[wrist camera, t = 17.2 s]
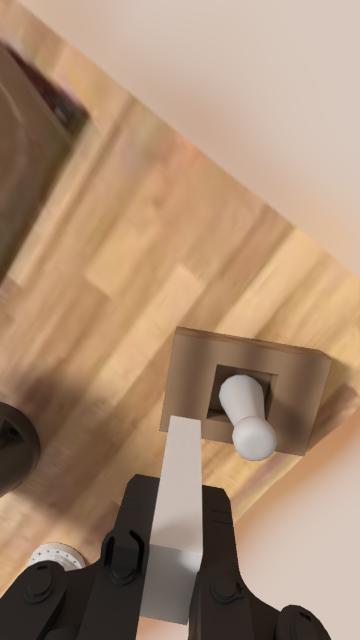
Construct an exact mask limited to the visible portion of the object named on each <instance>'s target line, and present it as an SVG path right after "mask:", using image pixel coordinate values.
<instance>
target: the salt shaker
mask: <svg viewBox="0 0 360 640" xmlns="http://www.w3.org/2000/svg"><path fill="white" fill-rule="evenodd" d="M219 398H220V402H221V405H222V407H223V408H224V410H225V412H226V414H227V415H228V417H229V419H230V421H231V422H232V424H233V426H234V431H233V434H232V438H233V443H234V446H235V449H236V451H237V452H238V453H239V454H240V455H241V457H242V458H245V459H247V460H250V461H261V460H264V459H266V458H268V457H269V456H270V455H271V454H272V453H273V452H274V451H275V447H276V444H277V442H276V437H275V432H274V430H273V428H272V426H271V425H270V424H269V423H268V422H267V421H266V420H265V415H264V395H263V391H262V387H261V385H260V384H259V383H258V382H257V381H256V380H255V379H254V378H252V377H250V376H248V375H245V374H239V375H234V376H230V377H228V378H227V380H226V381H225V382H224V383H223V384H222V385H221V389H220V393H219Z"/></svg>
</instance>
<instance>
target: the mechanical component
mask: <svg viewBox="0 0 360 640" xmlns="http://www.w3.org/2000/svg"><path fill="white" fill-rule="evenodd" d="M44 560H52V561H56V562H58V563H59V564H61V565H62V566H63V567H64V569H65V571H69V570H75V569H81V568H84V567H86V566H85V562H84V560H83V558H82V556H81V555H80V554H79V553H78V552H77V551H76V550H74V549H73V548H71V547H69V546H67V545H64V544H60V543H47V544H44V545H41V546H40V547H38V548H37V549H36V550H35V551H34V553H33V554H32V556H31V558H30V560H29V563H28V567H29V566H31V565H33V564H35V563H36V562H38V561H44Z"/></svg>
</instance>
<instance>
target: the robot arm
mask: <svg viewBox="0 0 360 640" xmlns="http://www.w3.org/2000/svg"><path fill="white" fill-rule="evenodd" d="M39 455H40V444H39V439H38V436H37V434H36V431H35V429H34V428H33V426H32V425H31V423H30V422H29V421H28V420H27V418H26V417H25V416H24V415H22V414H21V413H20V412H19V411H17V410H16V409H14V408H13V407H11V406H9V405H6V404H4V403H1V402H0V498H1V497H2V496H4V495H5V494H7V493H8V492H9V491H11V490H13V489H15V488H16V487H18V486H19V485H20V484H22V483H23V482H24V481H25V480H26V478H27V477H28V476H29V475H30V473H31V472H32V471H33V469H34V468H35V466H36V464H37V462H38V459H39ZM139 616H143V617H147V618H153V619H158V620H163V621H168V622H173V623H179V624H183V625H187V623H188V618H189V636H188V640H331V638H330V636H329V634H328V632H327V631H326V629H325V628H324V626H323V625H322V623H321V622H320V621H319V620H318V619H317V618H316V617H315V616H314V615H313V614H312V613H311V612H310V611H308V610H306V609H305V608H303V607H301V606H297V605H289V606H286V607H284V608H283V609H282V611H281V612H280V611H278V610H276V609H275V608H273V607H271V606H270V605H268V604H266V603H264V602H262V601H261V600H260V599H258V598H257V597H255V595H254V594H253V593H252V592H251V591H250V590H249V589H248V588H247V586H246V585H245V583H244V581H243V579H242V577H241V575H240V571H239V566H238V558H237V551H236V543H235V536H234V527H233V520H232V512H231V504H230V500H229V498H228V496H227V494H226V492H225V491H224V489H222V488H217V487H211V486H206V485H202V471H201V420H195V419H190V418H184V417H178V416H172V415H171V418H170V424H169V430H168V436H167V442H166V448H165V454H164V459H163V465H162V471H161V477H160V478H156V477H151V476H145V475H139V474H135V475H134V477H133V478H132V479H131V480H130V481H129V482H128V484H127V487H126V490H125V493H124V497H123V500H122V503H121V507H120V510H119V513H118V516H117V519H116V523H115V526H114V529H113V530H111V531H110V532H109V533H108V534H107V535H106V537H105V538H104V540H103V542H102V547H101V556H100V559H99V560H98V561H96V562H95V563H93V564H91V565H90V566H87V567H84V568H81V569H75V570H69V571H65V569H64V567H63V566H62V565H61V564H59V563H58V562H56V561H52V560H44V561H38V562H36V563H35V564H33V565H31V566H29V567H27V568H26V569H25V570H24V571H23V572H22V573H21V574H20V575H19V576H18V577H17V579H16V580H15V581H14V582H13V584H12V585H11V586H10V587H9V588H8V590H7V591H6V592H5V593H4V595H3V596H2V597H1V598H0V640H135V639H136V633H137V627H138V621H139Z"/></svg>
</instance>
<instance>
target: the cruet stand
mask: <svg viewBox="0 0 360 640" xmlns="http://www.w3.org/2000/svg"><path fill="white" fill-rule="evenodd" d="M331 364H332V360H331V359H330V358H329V357H327V356H326V355H325V354H324V353H322V352H321V351H320V350H315V349H309V348H303V347H297V346H291V345H285V344H279V343H273V342H267V341H261V340H255V339H249V338H243V337H237V336H231V335H225V334H219V333H213V332H207V331H201V330H195V329H189V328H183V327H176V331H175V334H174V340H173V347H172V353H171V359H170V366H169V372H168V378H167V385H166V391H165V397H164V404H163V410H162V416H161V423H160V429H159V431H163V432H168V430H169V424H170V418H171V415H172V416H178V417H184V418H190V419H195V420H201V438H203V439H208V440H214V441H220V442H225V443H231V444H234V443H233V438H232V434H233V431H234V426H233V424H232V422H231V421H230V419H229V417H228V415H227V414H226V412H225V410H224V408H223V407H222V405H221V402H220V398H219V393H220V389H221V385H222V384H223V383H224V382H225V381H226V380H227V378H228V377H230V376H234V375H239V374H245V375H248V376H250V377H252V378H254V379H255V380H256V381H257V382H258V383H259V384H260V385H261V387H262V391H263V395H264V415H265V420H266V421H267V422H268V423H269V424H270V425H271V426H272V428H273V430H274V432H275V437H276V442H277V444H276V447H275V451H276V452H282V453H288V454H294V455H299V456H304V455H305V452H306V448H307V445H308V442H309V438H310V435H311V431H312V428H313V425H314V421H315V418H316V415H317V411H318V408H319V404H320V401H321V398H322V394H323V391H324V388H325V384H326V381H327V377H328V374H329V371H330V367H331Z"/></svg>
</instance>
